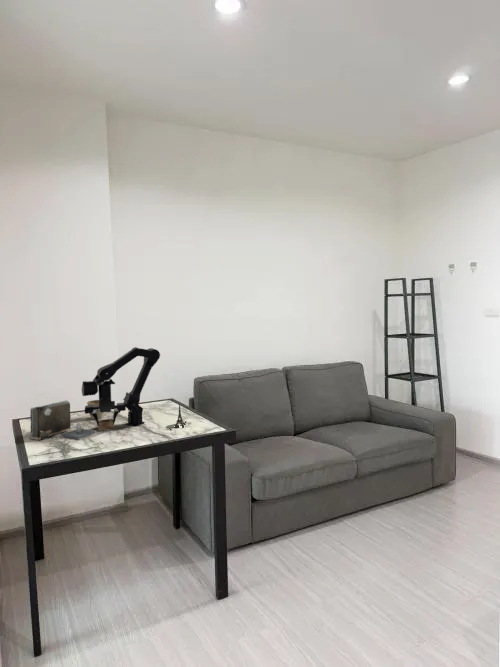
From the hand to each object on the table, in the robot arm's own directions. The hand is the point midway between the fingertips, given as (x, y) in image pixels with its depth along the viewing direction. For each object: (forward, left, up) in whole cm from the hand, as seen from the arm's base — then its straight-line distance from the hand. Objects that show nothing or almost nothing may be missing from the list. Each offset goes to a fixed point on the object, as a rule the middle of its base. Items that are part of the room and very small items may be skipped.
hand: (105, 425), depth 230 cm
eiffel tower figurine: (-30, -19, -2) cm, 35 cm away
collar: (0, 0, -1) cm, 1 cm away
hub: (+3, +14, -1) cm, 14 cm away
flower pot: (+18, -12, -2) cm, 22 cm away
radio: (+17, +18, -2) cm, 25 cm away
